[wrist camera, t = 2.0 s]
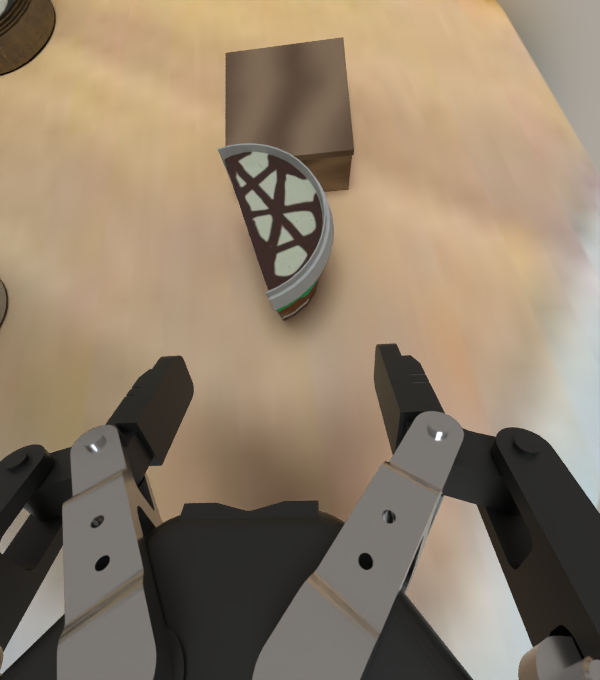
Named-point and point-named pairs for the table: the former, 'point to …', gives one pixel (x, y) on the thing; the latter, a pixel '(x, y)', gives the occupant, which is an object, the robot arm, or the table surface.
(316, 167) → the walnut block
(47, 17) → the wooden container
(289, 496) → the table surface
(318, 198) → the food container
